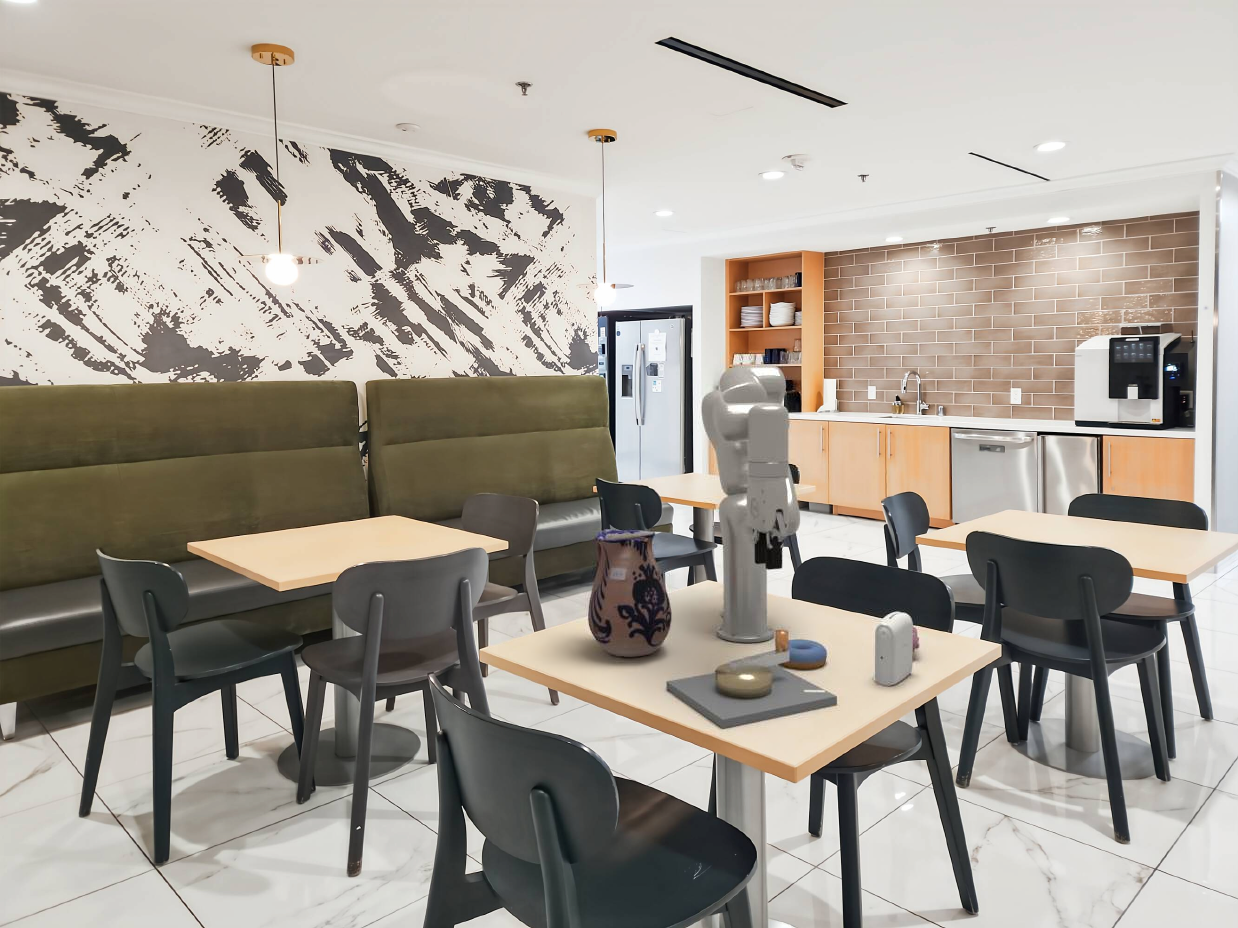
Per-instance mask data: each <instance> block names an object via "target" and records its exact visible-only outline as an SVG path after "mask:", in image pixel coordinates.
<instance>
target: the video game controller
mask: <svg viewBox="0 0 1238 928" xmlns="http://www.w3.org/2000/svg"><path fill="white" fill-rule="evenodd" d="M919 641H920V637H918V630H917V628H916V627H915V626H913V652H914V651H915V650H917V649H919V648H920V642H919Z"/></svg>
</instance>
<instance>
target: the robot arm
mask: <svg viewBox="0 0 1238 928" xmlns="http://www.w3.org/2000/svg"><path fill="white" fill-rule="evenodd" d="M786 383H787V382H786V378H785V375H784V372H782V370H781V369H780V368H779V367H778V366H775V365H770V364H769V365H767V364H766V365H763V364H762V365H761V364H760V365H736V366H731V367H730V368H728V369H726V370H725V371H724V372H723V373H722V375H721V376H720V379H719V384H718V386H719V389H716V390H712V391H710V392H708V393H706V394H705V395H704V396H703V398H702V401H701V410H700V411H701V419H702V424H703V427H704V430H705V434H706V436H707V438H708V440H709V441H710V443H711V445H712V447H713V449H714V452H715V456H716V463H717V470H718V471H717V472H718V475H719V480H720V486H721V489H722V491H723V493H724V494H725V495H726V496H725V497H724V498H723V499H721V501H720V503H719V504H718V505H719V506H718V521H719V525H720V526H719V527H720V532H721V541H722V558H723V559H722V560H723V561H722V565H723V567H722V568H723V571H722V572H723V611H722V610H721V611H720V612H719V613H718V616H719V617H720V618H721V619H722V624H721V625H719V626H718V627H717V628H716V635H717V636H718V637H719V638H720V639H723V640H725V641H728V642H729V641H730V642H735V643H748V644H749V643H750V644H751V643H759V642H760V643H761V642H765V641H770V640H771V639H772V638H773V637H774V636H775V629H774V628H773V627H771V626H769V625H768V602H767V601H768V589H767V588H768V586H767V585H768V583H767V582H768V577H767V576H768V570H769V571H770V570H780V569H783V548H784V541H785V540H786V538H787V536H791V535H794V534H796V532H798V530H799V527H800V524H801V512H800V507H799V502H798V497H797V493H796V489H795V485H794V484H795V483H794V479H793V476H792V472H791V471H792V470H791V468H790V465H789V430H790V415H789V411H788V408H787V407H785V406H784V405H783V401H784V399H785V395H786V388H787V384H786Z"/></svg>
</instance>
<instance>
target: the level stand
mask: <svg viewBox="0 0 1238 928" xmlns="http://www.w3.org/2000/svg"><path fill="white" fill-rule="evenodd" d="M768 668H770V669H771V671H772V691H771V692H770V693H768V694H766V695H764V696H760V697H753V698H739V697H732V696H728V695H725V694H722V693H720V692H719V691H717V689H716V685H715V672H712V673H706V674H700V675H695V676H689V677H684V678H678V679H673V680H666V690H667V689H668V690H669V691H668V690H667V691H668V692H670V693H671V692H672V693H671V694H672V695H674V694H675V695H676V696H675V695H674V696H675V697H677V696H678V697H679V698H678V697H677V698H678V699H679V700H681V699H682V700H681V701H683V702H684V701H685V702H686V703H685V702H684V703H685V704H687V705H688V704H689V705H688V706H689V707H691V708H693V709H694V710H695V709H696V710H695V711H697V712H699V713H700V714H701V713H702V714H701V715H703V716H704V717H705V716H706V717H705V718H707V719H708V720H710V721H712V722H713V723H714V724H715V725H717V726H719V727H720V728H721V729H727V728H728V729H729V728H733V727H736V726H737V727H738V726H741V725H747V724H750V723H755V722H760V721H766V720H769V719H775V718H780V717H784V716H789V715H790V716H791V715H793V714H798V713H802V712H803V713H804V712H807V711H813V710H817V709H821V708H822V709H823V708H827V707H831V706H837V705H838V695H836V694H833V693H832V692H830V691H828V690H825V689H824V688H822V687H820V686H818V685H816V684H814V683H812V682H810V681H808V680H807V679H804V678H802V677H800V676H798V675H796V674H794V673H792V672H791V671H789V670H787V669H785V668H783V667H781V666H779V665H778V664H776V665H773V666H769V667H768Z"/></svg>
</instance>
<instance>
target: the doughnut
mask: <svg viewBox="0 0 1238 928" xmlns="http://www.w3.org/2000/svg"><path fill="white" fill-rule="evenodd" d="M827 652H828V651H827V649H826V647H825V646H824V645H823V644H821V643H820V642H817V641H815V640H810V639H803V638H802V639H801V638H800V639H798V638H797V639H796V638H795V639H789V661H787V662H783V663H780V664H781V665H783V666H785V667H788V668H791V669H795V670H812V669H817V668H820V667H821V666H823V665H824V664H825V663H826V661H827V657H828V653H827Z"/></svg>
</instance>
